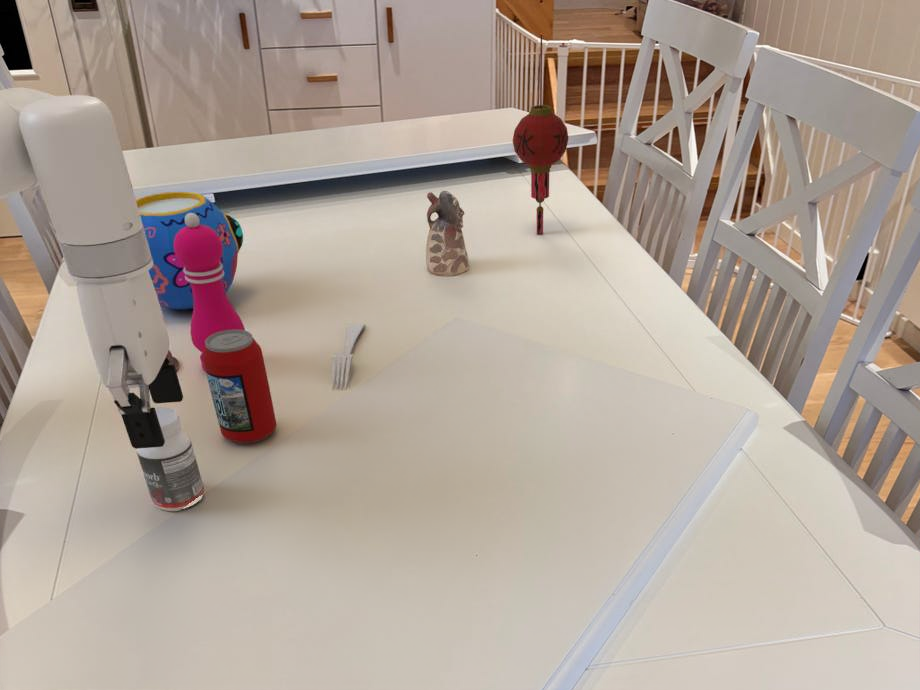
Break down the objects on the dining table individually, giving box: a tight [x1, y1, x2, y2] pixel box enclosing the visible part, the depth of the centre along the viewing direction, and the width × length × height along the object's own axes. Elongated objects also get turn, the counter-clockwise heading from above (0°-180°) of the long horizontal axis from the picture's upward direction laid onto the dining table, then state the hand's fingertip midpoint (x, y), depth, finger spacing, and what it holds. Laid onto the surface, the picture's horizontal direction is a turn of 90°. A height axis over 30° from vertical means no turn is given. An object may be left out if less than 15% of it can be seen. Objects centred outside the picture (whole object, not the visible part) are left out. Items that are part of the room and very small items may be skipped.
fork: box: [331, 323, 365, 390], centre depth 127 cm, size 3×21×3 cm, turn 179°
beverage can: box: [202, 330, 277, 444], centre depth 108 cm, size 7×7×12 cm
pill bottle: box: [135, 407, 205, 512], centre depth 98 cm, size 6×6×10 cm
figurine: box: [425, 190, 470, 277], centre depth 148 cm, size 7×7×12 cm
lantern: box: [512, 34, 569, 236], centre depth 153 cm, size 10×10×30 cm
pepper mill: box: [174, 213, 246, 373], centre depth 120 cm, size 7×7×20 cm
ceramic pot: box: [136, 191, 244, 310], centre depth 139 cm, size 18×18×15 cm
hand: (159, 423), depth 95 cm, fingers open, 9 cm apart
